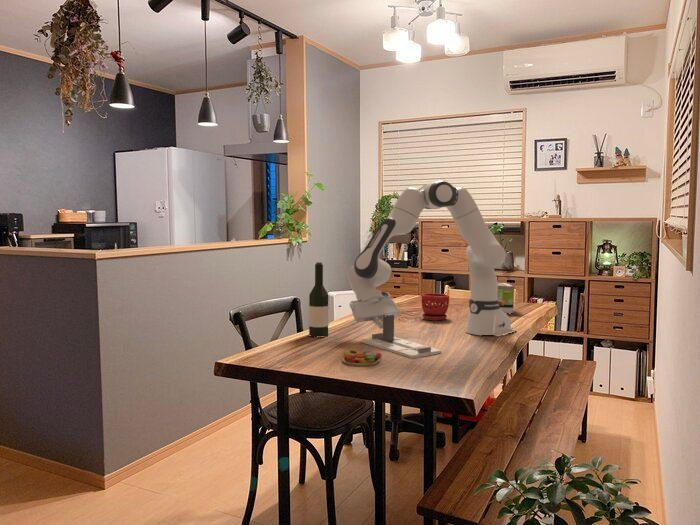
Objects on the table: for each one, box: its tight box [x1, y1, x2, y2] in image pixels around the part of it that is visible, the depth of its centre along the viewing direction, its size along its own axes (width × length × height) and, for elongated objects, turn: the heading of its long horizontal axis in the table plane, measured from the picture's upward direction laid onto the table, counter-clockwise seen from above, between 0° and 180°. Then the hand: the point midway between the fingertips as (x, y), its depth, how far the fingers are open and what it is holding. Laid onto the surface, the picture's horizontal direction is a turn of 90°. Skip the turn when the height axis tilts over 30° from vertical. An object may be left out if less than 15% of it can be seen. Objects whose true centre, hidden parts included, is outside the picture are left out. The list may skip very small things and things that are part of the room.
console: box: [360, 332, 442, 359], centre depth 210 cm, size 14×30×3 cm, turn 34°
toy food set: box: [341, 348, 382, 367], centre depth 189 cm, size 13×13×3 cm
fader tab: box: [382, 314, 395, 342], centre depth 215 cm, size 3×3×10 cm
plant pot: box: [421, 292, 450, 321], centre depth 269 cm, size 13×13×12 cm
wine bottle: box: [308, 261, 329, 338], centre depth 228 cm, size 8×8×30 cm
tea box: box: [497, 282, 515, 314], centre depth 290 cm, size 15×10×15 cm
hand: (384, 327), depth 217 cm, fingers closed
